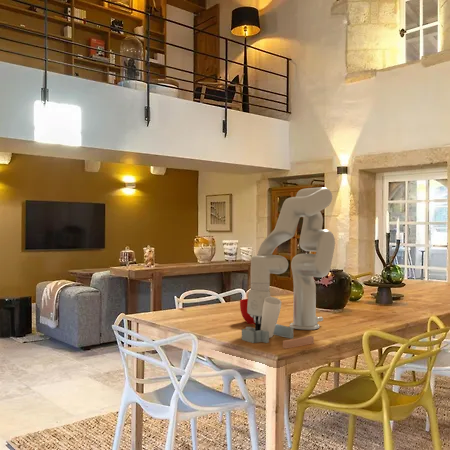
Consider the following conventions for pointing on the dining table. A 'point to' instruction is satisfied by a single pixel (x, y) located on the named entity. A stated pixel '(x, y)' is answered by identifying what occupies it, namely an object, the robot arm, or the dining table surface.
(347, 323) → the dining table surface
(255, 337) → the channel
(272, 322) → the drinking glass
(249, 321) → the ceramic cup
